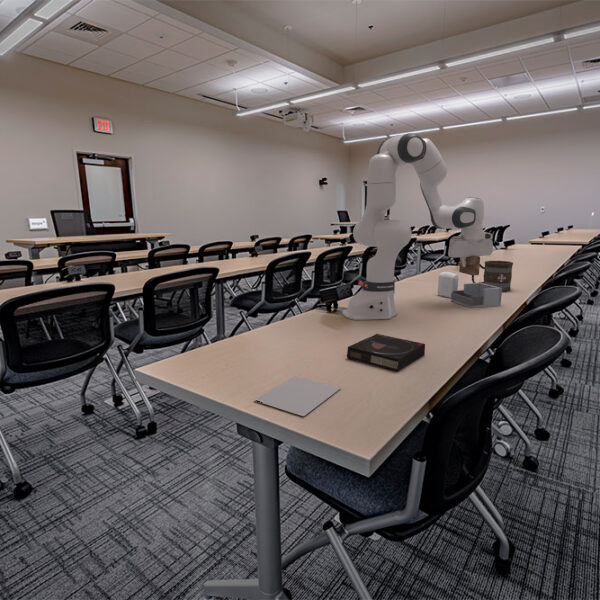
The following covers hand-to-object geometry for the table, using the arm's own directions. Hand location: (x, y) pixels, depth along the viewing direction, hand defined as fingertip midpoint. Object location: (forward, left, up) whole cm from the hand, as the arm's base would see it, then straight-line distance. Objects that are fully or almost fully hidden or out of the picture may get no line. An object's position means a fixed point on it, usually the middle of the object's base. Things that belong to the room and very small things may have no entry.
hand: (469, 266), depth 180 cm
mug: (+32, +26, -18) cm, 45 cm away
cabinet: (+4, 0, -17) cm, 18 cm away
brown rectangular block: (0, 0, -3) cm, 3 cm away
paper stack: (-95, -65, -18) cm, 117 cm away
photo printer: (+1, +17, -18) cm, 24 cm away
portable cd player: (-64, -53, -18) cm, 85 cm away
